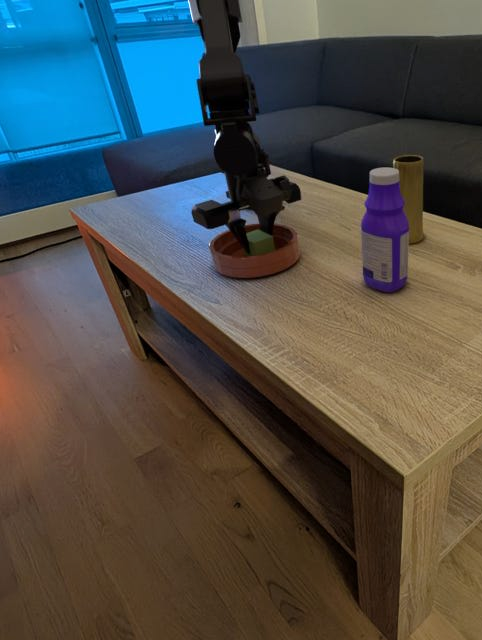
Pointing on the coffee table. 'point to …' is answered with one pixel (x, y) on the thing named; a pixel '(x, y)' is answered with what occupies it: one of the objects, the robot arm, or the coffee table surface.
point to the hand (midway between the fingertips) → (257, 249)
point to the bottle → (385, 233)
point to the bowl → (237, 264)
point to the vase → (412, 192)
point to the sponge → (259, 243)
